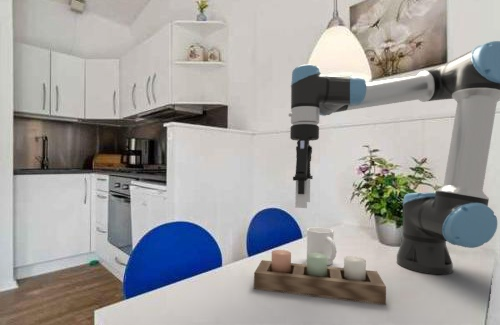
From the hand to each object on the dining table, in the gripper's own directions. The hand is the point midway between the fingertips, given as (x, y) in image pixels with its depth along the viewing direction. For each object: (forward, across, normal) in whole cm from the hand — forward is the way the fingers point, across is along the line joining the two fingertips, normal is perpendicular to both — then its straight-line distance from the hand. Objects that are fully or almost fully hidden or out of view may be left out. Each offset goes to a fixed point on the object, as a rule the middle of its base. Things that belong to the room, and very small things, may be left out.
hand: (303, 204), depth 76 cm
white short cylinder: (+17, +3, +13) cm, 21 cm away
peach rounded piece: (+17, +3, -5) cm, 18 cm away
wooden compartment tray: (+20, +3, +4) cm, 21 cm away
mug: (+20, -17, +5) cm, 27 cm away
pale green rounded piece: (+17, +3, +4) cm, 17 cm away
